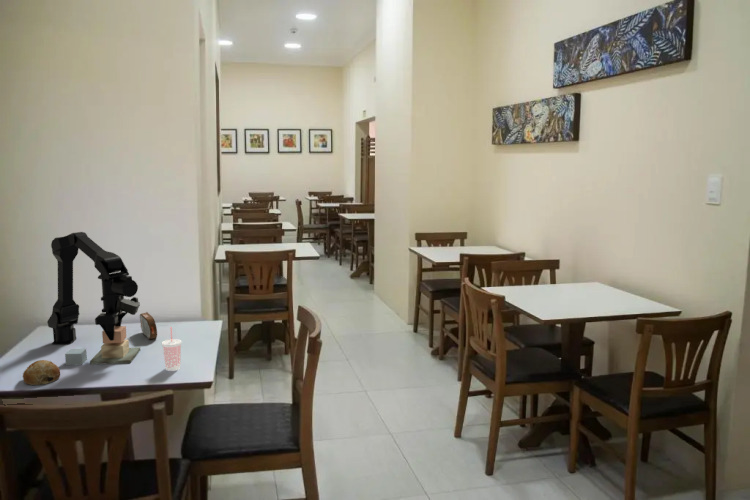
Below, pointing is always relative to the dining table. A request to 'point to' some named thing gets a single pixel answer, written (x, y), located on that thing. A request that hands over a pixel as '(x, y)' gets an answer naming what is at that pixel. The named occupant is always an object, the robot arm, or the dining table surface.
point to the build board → (115, 360)
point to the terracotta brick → (116, 335)
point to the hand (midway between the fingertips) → (114, 337)
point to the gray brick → (76, 356)
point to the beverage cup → (172, 353)
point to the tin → (148, 325)
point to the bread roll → (41, 373)
